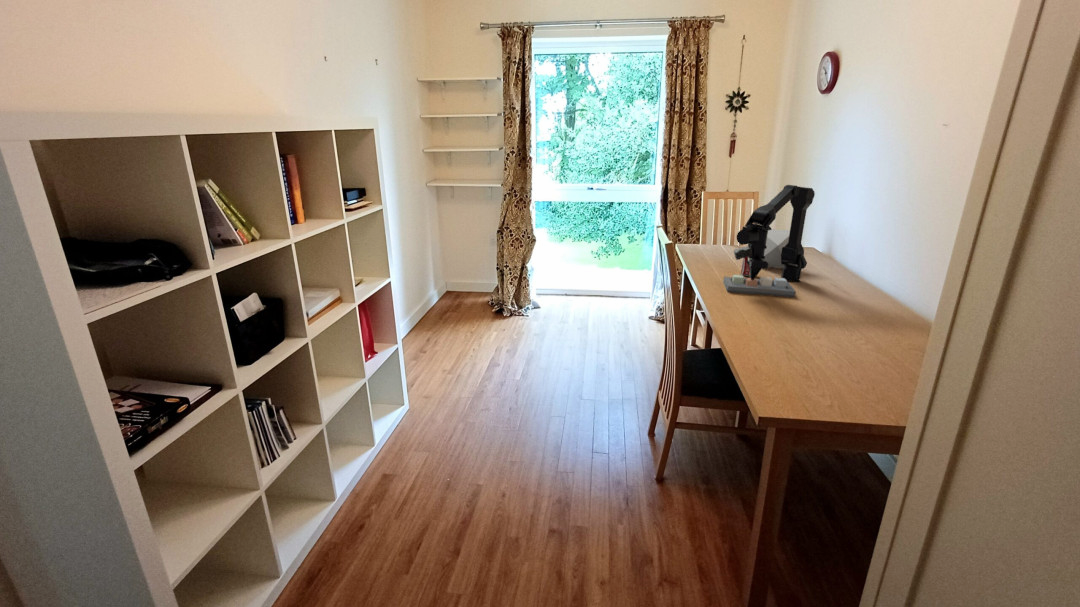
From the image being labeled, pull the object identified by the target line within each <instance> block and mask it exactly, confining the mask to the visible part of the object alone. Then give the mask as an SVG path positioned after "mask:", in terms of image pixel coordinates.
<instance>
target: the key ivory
mask: <svg viewBox="0 0 1080 607" xmlns="http://www.w3.org/2000/svg"><path fill="white" fill-rule="evenodd" d="M759 279H760V284H761V285H762V286H772V281H773V280H774V279H772V277H770V276H760V277H759Z"/></svg>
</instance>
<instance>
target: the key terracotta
mask: <svg viewBox="0 0 1080 607" xmlns="http://www.w3.org/2000/svg"><path fill="white" fill-rule="evenodd" d="M745 278H746V283H745V284H746V286H754V287H757V283H758V281H757V279H758V278H755V279H754V280H751V278H750V277H745Z"/></svg>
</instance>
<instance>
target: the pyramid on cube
mask: <svg viewBox="0 0 1080 607" xmlns="http://www.w3.org/2000/svg"><path fill="white" fill-rule="evenodd" d="M789 234H790V229H788V230H787V229H786V230H785V229H772V228H771V230H768V235H767V241H766V246H767V248H766V249H765V252H764V256H765V260H766V261H767V263H768V268H770V267H774V268H773V269H781V268H782V269H783V268H784V266H785V265H782V264H781V253H782V248H783V247H785V246H786V244H787V243H788V240H789ZM782 269H781V270H782Z"/></svg>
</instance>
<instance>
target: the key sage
mask: <svg viewBox="0 0 1080 607" xmlns="http://www.w3.org/2000/svg"><path fill="white" fill-rule="evenodd" d="M731 277H732V282H733V283H736V284H743V282H744V278H745V276H743V275H742V274H732V276H731Z"/></svg>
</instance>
